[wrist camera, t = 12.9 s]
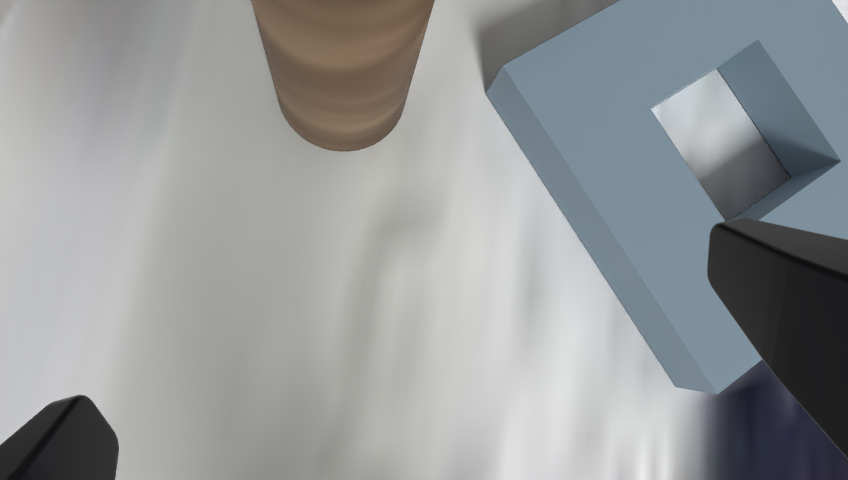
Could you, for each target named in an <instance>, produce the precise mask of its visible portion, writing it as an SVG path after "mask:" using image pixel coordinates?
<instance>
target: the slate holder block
mask: <svg viewBox="0 0 848 480" xmlns="http://www.w3.org/2000/svg"><path fill="white" fill-rule="evenodd" d="M716 68H717V69H718V71H719V72H720V74H721V75H722V77H723V78H724V80H725V81H726V82H727V84H728V85H729V87H730V88H731V90H732V91H733V93H734V94H735V96H736V97H737V99H738V100H739V102H740V103H741V105H742V106H743V108H744V109H745V111H746V112H747V114H748V115H749V116H750V118H751V119H752V121H753V122H754V124H755V125H756V127H757V128H758V130H759V131H760V133H761V134H762V136H763V137H764V139H765V140H766V142H767V143H768V145H769V146H770V147H771V149H772V150H773V152H774V153H775V155H776V156H777V158H778V159H779V161H780V162H781V164H782V165H783V167H784V168H785V170H786V171H787V173H788V174H789V176H790V177H791V178H790V179H789V180H788V181H786V182H785V183H783V184H782V185H780V186H779V187H778V188H776V189H775V190H773V191H772V192H771V193H769V194H768V195H766V196H765V197H763V198H762V199H761V200H759V201H758V202H756V203H755V204H753V205H752V206H751V207H749V208H748V209H746V210H745V211H743V212H742V213H741V214H739V215H738V216H736V217H735V218H739V217H745V218H750V219H755V220H759V221H764V222H769V223H773V224H778V225H783V226H787V227H792V228H796V229H801V230H806V231H810V232H815V233H819V234H824V235H829V236H833V237H838V238H843V239H847V240H848V23H847V22H846V20H845V19H844V18H843V16H842V15H841V13H840V12H839V10H838V9H837V7H836V6H835V5H834V3H833V2H832V0H620V1H618V2H616V3H614V4H613V5H611V6H609V7H607V8H605V9H604V10H602V11H600V12H598V13H596V14H595V15H593V16H591V17H589V18H587V19H586V20H584V21H582V22H580V23H578V24H577V25H575V26H573V27H571V28H569V29H568V30H566V31H564V32H562V33H560V34H559V35H557V36H555V37H553V38H552V39H550V40H548V41H546V42H544V43H543V44H541V45H539V46H537V47H535V48H534V49H532V50H530V51H528V52H526V53H525V54H523V55H521V56H519V57H517V58H516V59H514V60H512V61H510V62H508V63H507V64H505V65H503V66H502V68H501V69H500V71H499V73H498V74H497V76H496V77H495V79H494V81H493V82H492V84H491V86H490V87H489V89H488V90H487V92H486V95H487V97H488V98H489V100H490V101H491V103H492V105H493V106H494V108H495V109H496V111H497V112H498V114H499V115H500V117H501V118H502V120H503V121H504V123H505V125H506V126H507V128H508V129H509V131H510V132H511V134H512V135H513V137H514V138H515V140H516V142H517V143H518V145H519V146H520V148H521V149H522V151H523V152H524V154H525V155H526V157H527V159H528V160H529V162H530V163H531V165H532V166H533V168H534V169H535V171H536V172H537V174H538V175H539V177H540V179H541V180H542V182H543V183H544V185H545V186H546V188H547V189H548V191H549V192H550V194H551V196H552V197H553V199H554V200H555V202H556V203H557V205H558V206H559V208H560V209H561V211H562V212H563V214H564V216H565V217H566V219H567V220H568V222H569V223H570V225H571V226H572V228H573V229H574V231H575V233H576V234H577V236H578V237H579V239H580V240H581V242H582V243H583V245H584V246H585V248H586V250H587V251H588V253H589V254H590V256H591V257H592V259H593V260H594V262H595V263H596V265H597V266H598V268H599V270H600V271H601V273H602V274H603V276H604V277H605V279H606V280H607V282H608V283H609V285H610V287H611V288H612V290H613V291H614V293H615V294H616V296H617V297H618V299H619V300H620V302H621V303H622V305H623V307H624V308H625V310H626V311H627V313H628V314H629V316H630V317H631V319H632V320H633V322H634V324H635V325H636V327H637V328H638V330H639V331H640V333H641V334H642V336H643V337H644V339H645V341H646V342H647V344H648V345H649V347H650V348H651V350H652V351H653V353H654V354H655V356H656V357H657V359H658V361H659V362H660V364H661V365H662V367H663V368H664V370H665V371H666V373H667V374H668V376H669V378H670V379H671V381H672V382H673V384H674V385H675V387H678V388H684V389H689V390H695V391H701V392H706V393H712V394H719V393H720V392H721V391H722V390H724V389H725V388H726V387H728V386H729V385H730V384H731V383H733V382H734V381H735V380H736V379H738V378H739V377H740V376H742V375H743V374H744V373H745V372H747V371H748V370H749V369H750V368H752V367H753V366H754V365H756V364H757V363H758V362H759V361H761V360H762V358H761V357H760V355H759V354H758V353H757V351H756V350H755V348H754V347H753V345H752V344H751V343H750V341H749V340H748V338H747V337H746V335H745V334H744V333H743V331H742V330H741V328H740V327H739V326H738V324H737V323H736V321H735V320H734V318H733V317H732V316H731V314H730V313H729V311H728V310H727V308H726V307H725V306H724V304H723V303H722V301H721V300H720V299H719V297H718V296H717V294H716V293H715V291H714V290H713V288H712V287H711V285H710V283H709V280H708V276H707V262H708V248H709V235H710V231H711V229H712V227H713V226H714V225H715V224H717V223H720V222H724V221H725V220H724V219H723V217H722V216H721V214H720V213H719V211H718V210H717V208H716V207H715V205H714V204H713V202H712V201H711V199H710V198H709V196H708V195H707V193H706V192H705V190H704V189H703V187H702V186H701V184H700V183H699V181H698V180H697V178H696V177H695V175H694V174H693V172H692V171H691V169H690V168H689V166H688V165H687V163H686V162H685V160H684V159H683V157H682V156H681V154H680V153H679V151H678V150H677V148H676V147H675V145H674V144H673V142H672V141H671V139H670V138H669V136H668V135H667V133H666V132H665V130H664V129H663V127H662V126H661V124H660V123H659V121H658V120H657V118H656V117H655V115H654V114H653V112H652V111H651V108H653V107H655V106H656V105H658V104H660V103H661V102H663V101H664V100H666V99H668V98H669V97H671V96H672V95H674V94H676V93H677V92H679V91H681V90H682V89H684V88H685V87H687V86H689V85H690V84H692V83H693V82H695V81H697V80H698V79H700V78H702V77H703V76H705V75H706V74H708V73H710V72H711V71H713V70H714V69H716ZM735 218H733V219H735Z"/></svg>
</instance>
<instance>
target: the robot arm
mask: <svg viewBox="0 0 848 480" xmlns="http://www.w3.org/2000/svg"><path fill="white" fill-rule="evenodd" d="M707 276H708V280H709V283H710V285H711V287H712V288H713V290H714V291H715V293H716V294H717V296H718V297H719V299H720V300H721V301H722V303H723V304H724V306H725V307H726V308H727V310H728V311H729V313H730V314H731V316H732V317H733V318H734V320H735V321H736V323H737V324H738V326H739V327H740V328H741V330H742V331H743V333H744V334H745V335H746V337H747V338H748V340H749V341H750V343H751V344H752V345H753V347H754V348H755V350H756V351H757V353H758V354H759V355H760V357H761V358H762V359H763V361H764V362H765V363H766V365H767V366H768V367H769V369H770V370H771V371H772V373H773V374H774V375H775V376H776V377H777V379H778V380H779V381H780V382H781V383H782V385H783V386H784V387H785V388H786V389H787V390H788V391H789V393H790V394H791V395H792V396H793V397H794V398H795V400H796V401H797V402H798V403H799V404H800V405H801V406H802V408H803V409H804V410H805V411H806V412H807V413H808V414H809V416H810V417H811V418H812V419H813V420H814V421H815V422H816V424H817V425H818V426H819V427H820V428H821V429H822V430H823V432H824V433H825V434H826V435H827V436H828V437H829V438H830V440H831V441H832V442H833V443H834V444H835V445H836V447H837V448H838V449H839V450H840V451H841V452H842V453H843V455H844V456H845V457H846V458H847V459H848V240H847V239H843V238H838V237H833V236H829V235H824V234H819V233H815V232H810V231H806V230H801V229H796V228H792V227H787V226H783V225H778V224H773V223H769V222H764V221H759V220H755V219H750V218H745V217H739V218H735V219H731V220H727V221H724V222H720V223H717V224H715V225H714V226H713V227H712V229H711V231H710V235H709V248H708V262H707ZM118 453H119V445H118V439H117V437H116V434H115V432H114V431H113V429H112V428H111V426H110V425H109V424H108V422H107V421H106V419H105V418H104V417H103V415H102V414H101V413H100V411H99V410H98V408H97V407H96V406H95V404H94V403H93V401H92V400H91V399H90V398H88V397H87V396H84V395H77V396H73V397H69V398H65V399H62V400H58V401H55V402H52V403H50V404H49V405H47V406H46V407H45V408H44V409H42V410H41V411H40V412H39V413H38V414H37V415H35V416H34V417H33V418H32V419H31V420H29V421H28V422H27V423H26V424H25V425H24V426H22V427H21V428H20V429H19V430H18V431H16V432H15V433H14V434H13V435H12V436H11V437H9V438H8V439H7V440H6V441H5V442H3V443H2V444H1V445H0V480H115V477H116V469H117V461H118Z"/></svg>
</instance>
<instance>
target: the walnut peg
mask: <svg viewBox="0 0 848 480" xmlns="http://www.w3.org/2000/svg"><path fill="white" fill-rule="evenodd" d="M251 1H252V5H253V9H254V13H255V16H256V20H257V24H258V27H259V31H260V35H261V38H262V42H263V46H264V49H265V53H266V57H267V61H268V64H269V68H270V72H271V75H272V79H273V83H274V86H275V90H276V94H277V97H278V101H279V105H280V108H281V111H282V113H283V115H284V117H285V119H286V120H287V122H288V123H289V125H290V126H291V127H292V128H293V129H294V131H296V132H297V133H298V134H299V135H300V136H301V137H302V138H304V139H305V140H307V141H308V142H310V143H312V144H314V145H316V146H319V147H321V148H324V149H328V150H333V151H355V150H360V149H363V148H366V147H369V146H371V145H374V144H375V143H377V142H379V141H380V140H382V139H383V138H384V137H386V136H387V135H388V134H389V133H390V132H391V131H392V129H393V128H394V127H395V125H396V124H397V122H398V120H399V119H400V117H401V114H402V111H403V108H404V105H405V101H406V98H407V94H408V91H409V87H410V84H411V80H412V77H413V74H414V70H415V67H416V63H417V60H418V56H419V53H420V49H421V46H422V42H423V39H424V35H425V32H426V28H427V25H428V21H429V18H430V14H431V11H432V8H433V4H434V1H435V0H251Z"/></svg>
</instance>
